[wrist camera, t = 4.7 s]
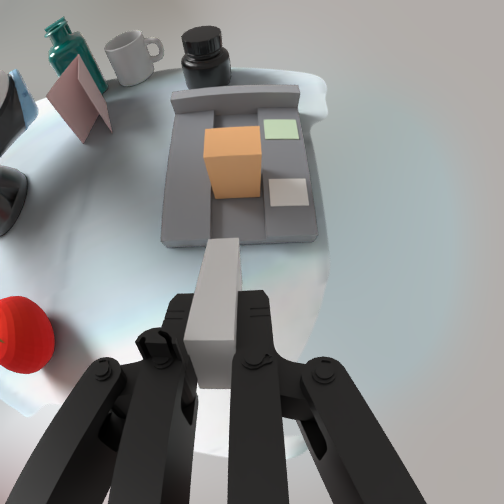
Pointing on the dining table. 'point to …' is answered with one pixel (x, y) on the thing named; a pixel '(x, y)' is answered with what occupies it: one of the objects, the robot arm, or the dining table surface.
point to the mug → (132, 57)
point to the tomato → (24, 335)
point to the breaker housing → (272, 169)
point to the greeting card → (78, 99)
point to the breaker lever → (233, 161)
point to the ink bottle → (205, 58)
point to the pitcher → (71, 52)
